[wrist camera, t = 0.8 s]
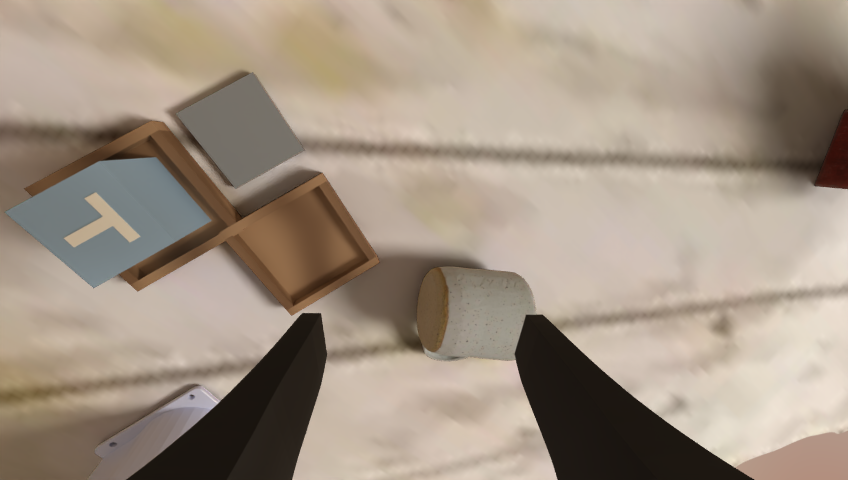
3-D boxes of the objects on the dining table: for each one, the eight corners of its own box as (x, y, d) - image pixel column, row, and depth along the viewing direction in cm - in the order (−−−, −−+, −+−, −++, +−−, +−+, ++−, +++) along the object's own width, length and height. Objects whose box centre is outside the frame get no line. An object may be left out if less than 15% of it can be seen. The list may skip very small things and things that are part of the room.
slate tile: (238, 187, 22) (235, 188, 21) (180, 114, 20) (175, 113, 19) (305, 149, 22) (304, 149, 22) (255, 74, 20) (252, 72, 20)
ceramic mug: (422, 251, 27) (450, 292, 20) (502, 259, 29) (552, 297, 22) (402, 351, 30) (420, 417, 23) (476, 351, 32) (514, 410, 25)
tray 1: (149, 282, 22) (137, 291, 21) (45, 185, 19) (23, 188, 18) (248, 225, 23) (243, 230, 21) (163, 122, 20) (150, 120, 18)
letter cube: (148, 256, 21) (92, 288, 17) (84, 195, 19) (1, 211, 15) (211, 220, 22) (175, 241, 17) (155, 156, 20) (97, 160, 15)
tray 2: (294, 307, 25) (291, 315, 24) (225, 227, 22) (218, 232, 21) (377, 256, 26) (379, 262, 25) (322, 172, 23) (321, 174, 22)
